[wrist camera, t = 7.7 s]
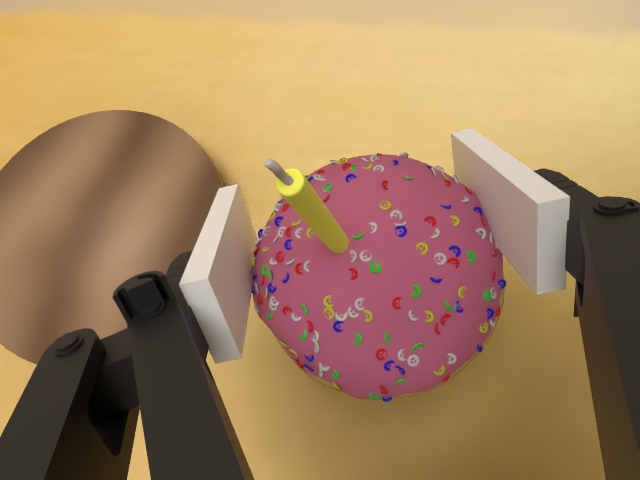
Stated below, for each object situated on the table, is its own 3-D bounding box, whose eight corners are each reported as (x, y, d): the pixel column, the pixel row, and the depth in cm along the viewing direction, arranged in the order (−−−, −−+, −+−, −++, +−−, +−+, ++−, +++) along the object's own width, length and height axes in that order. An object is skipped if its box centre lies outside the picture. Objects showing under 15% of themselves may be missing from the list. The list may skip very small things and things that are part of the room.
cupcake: (258, 359, 19) (86, 353, 8) (309, 184, 21) (229, -25, 10) (456, 416, 18) (602, 511, 6) (491, 221, 20) (649, 22, 8)
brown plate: (261, 145, 28) (248, 120, 25) (210, 389, 24) (189, 392, 21) (51, 126, 30) (18, 101, 27) (-26, 348, 26) (-75, 345, 23)
